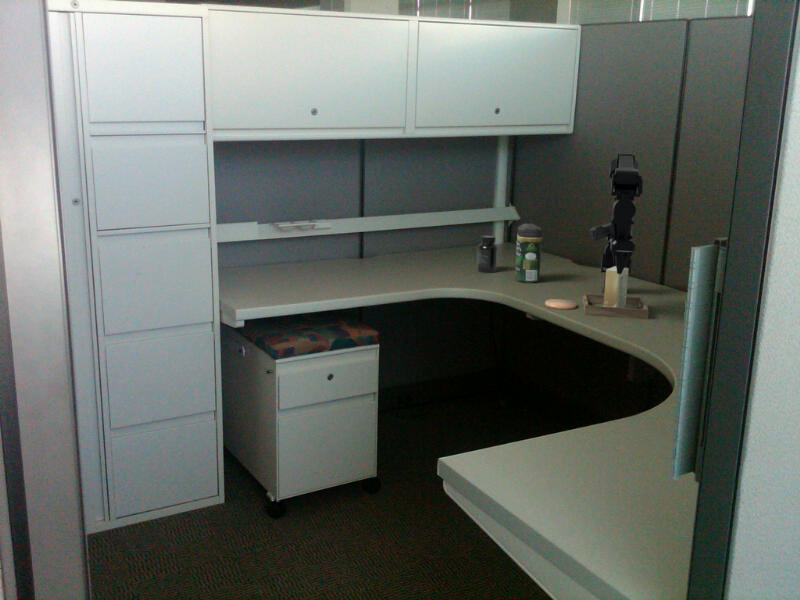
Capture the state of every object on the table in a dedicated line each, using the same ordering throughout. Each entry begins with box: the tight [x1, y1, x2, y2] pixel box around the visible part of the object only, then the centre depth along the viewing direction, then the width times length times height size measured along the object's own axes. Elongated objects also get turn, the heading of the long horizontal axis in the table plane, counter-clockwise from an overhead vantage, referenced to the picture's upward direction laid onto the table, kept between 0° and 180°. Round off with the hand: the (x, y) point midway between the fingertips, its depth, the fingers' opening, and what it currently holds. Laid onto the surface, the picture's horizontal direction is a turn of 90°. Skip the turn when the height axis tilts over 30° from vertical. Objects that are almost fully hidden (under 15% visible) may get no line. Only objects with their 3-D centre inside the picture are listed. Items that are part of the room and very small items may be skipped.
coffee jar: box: [514, 223, 544, 284], centre depth 263 cm, size 10×8×19 cm
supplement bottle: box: [476, 235, 499, 274], centre depth 277 cm, size 7×7×12 cm
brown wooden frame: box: [582, 293, 649, 320], centre depth 229 cm, size 15×17×2 cm
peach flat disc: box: [544, 298, 577, 311], centre depth 233 cm, size 9×9×1 cm
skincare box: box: [602, 266, 629, 308], centre depth 228 cm, size 6×4×12 cm
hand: (617, 270), depth 227 cm, fingers open, 9 cm apart
